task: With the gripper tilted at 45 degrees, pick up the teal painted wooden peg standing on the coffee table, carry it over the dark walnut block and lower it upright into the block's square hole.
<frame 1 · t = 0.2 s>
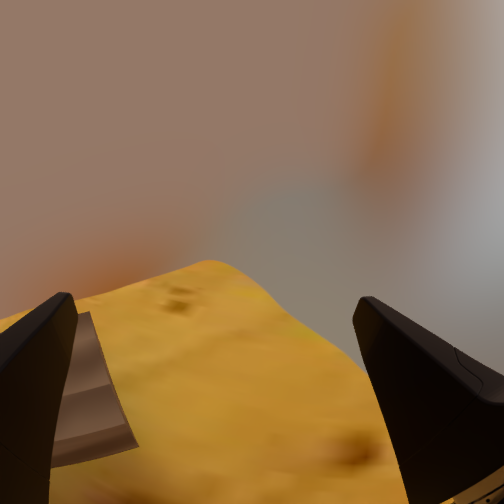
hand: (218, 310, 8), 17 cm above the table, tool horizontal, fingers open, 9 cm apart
hole block: (48, 407, 17), on the table
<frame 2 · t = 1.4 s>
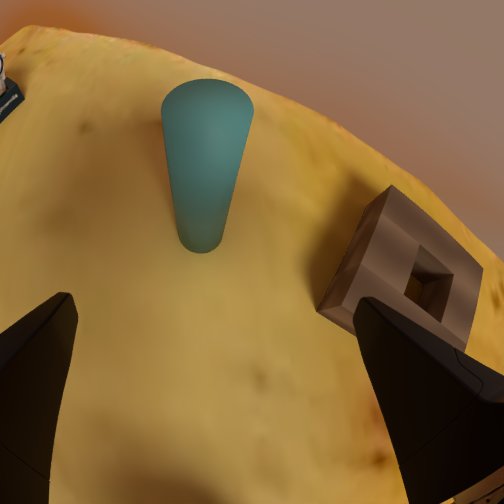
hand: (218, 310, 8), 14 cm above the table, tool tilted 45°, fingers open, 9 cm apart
hole block: (400, 293, 25), on the table
peg: (200, 231, 23), on the table
watch: (5, 109, 23), on the table
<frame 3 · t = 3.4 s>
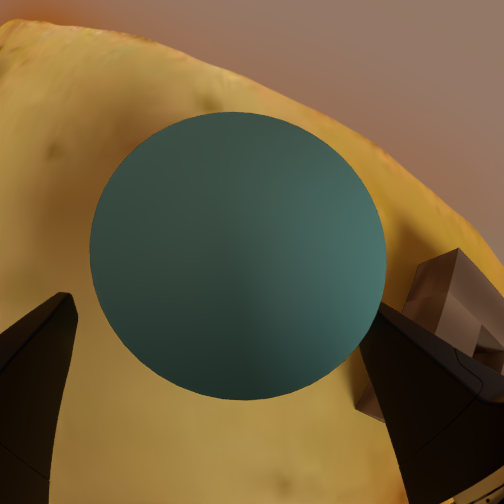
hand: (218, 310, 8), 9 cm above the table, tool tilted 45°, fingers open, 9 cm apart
hole block: (446, 369, 18), on the table
peg: (209, 315, 16), on the table
when the fingers open (9 cm above the table, at t = 9.6 s): peg drops 2 cm, resting in hole block.
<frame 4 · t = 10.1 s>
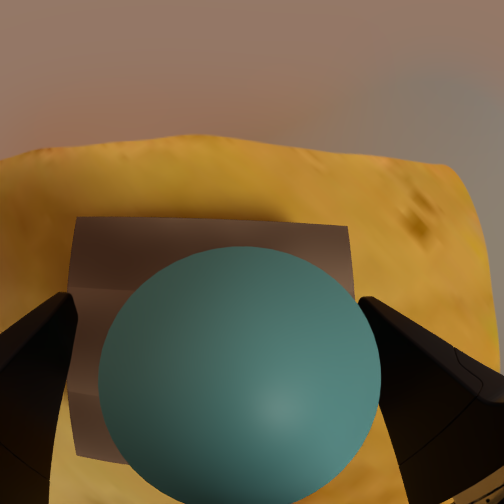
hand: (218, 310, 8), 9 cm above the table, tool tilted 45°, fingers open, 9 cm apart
hole block: (209, 344, 16), on the table
peg: (209, 345, 16), resting in hole block
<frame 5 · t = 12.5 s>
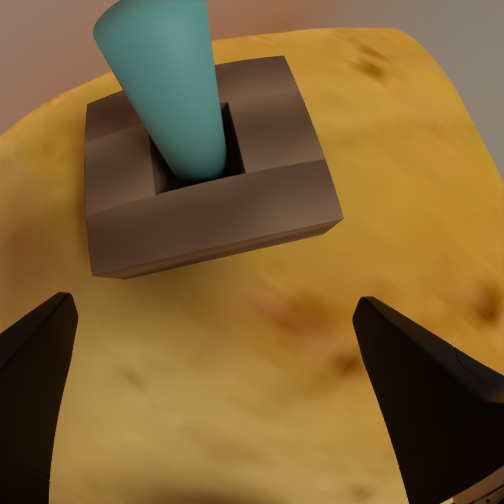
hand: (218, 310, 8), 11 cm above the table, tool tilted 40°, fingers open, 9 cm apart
hole block: (203, 174, 20), on the table
peg: (204, 174, 20), resting in hole block
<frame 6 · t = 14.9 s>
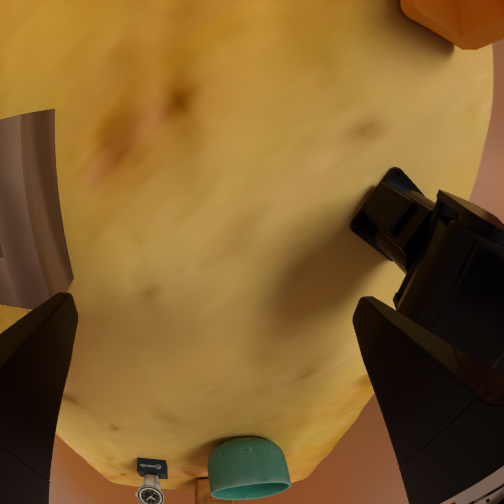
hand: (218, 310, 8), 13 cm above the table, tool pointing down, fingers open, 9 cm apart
mug: (242, 447, 42), on the table
coffee package: (213, 480, 52), on the table
hole block: (5, 203, 17), on the table
watch: (152, 461, 43), on the table
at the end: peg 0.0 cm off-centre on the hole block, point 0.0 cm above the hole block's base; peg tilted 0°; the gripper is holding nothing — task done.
